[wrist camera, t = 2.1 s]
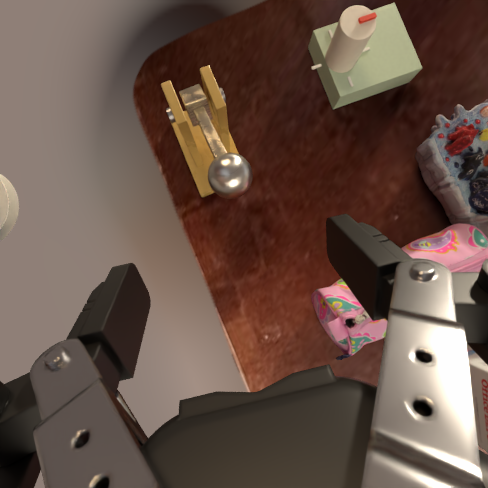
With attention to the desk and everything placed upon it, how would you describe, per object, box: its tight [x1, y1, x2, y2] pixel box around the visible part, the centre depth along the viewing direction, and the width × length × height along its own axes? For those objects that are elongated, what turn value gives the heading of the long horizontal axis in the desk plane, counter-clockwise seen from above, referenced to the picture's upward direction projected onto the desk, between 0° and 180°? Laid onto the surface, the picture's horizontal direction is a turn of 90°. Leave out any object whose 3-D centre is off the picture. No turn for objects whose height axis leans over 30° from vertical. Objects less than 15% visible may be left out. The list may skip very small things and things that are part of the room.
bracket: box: [161, 65, 238, 197], centre depth 32 cm, size 12×7×13 cm, turn 22°
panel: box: [308, 3, 422, 109], centre depth 38 cm, size 14×10×3 cm
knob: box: [325, 5, 377, 73], centre depth 33 cm, size 4×4×6 cm
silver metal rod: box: [179, 84, 253, 199], centre depth 24 cm, size 14×4×4 cm, turn 23°
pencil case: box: [311, 223, 488, 360], centre depth 33 cm, size 21×9×9 cm, turn 114°
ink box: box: [466, 343, 488, 452], centre depth 31 cm, size 9×5×12 cm, turn 3°
